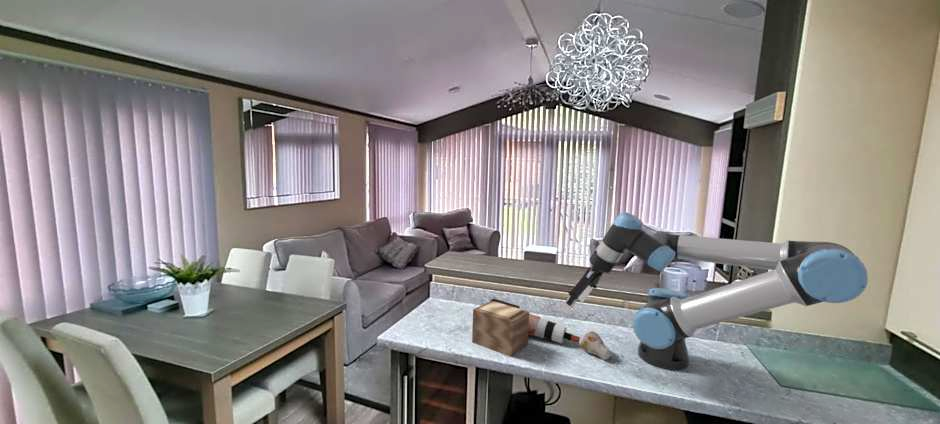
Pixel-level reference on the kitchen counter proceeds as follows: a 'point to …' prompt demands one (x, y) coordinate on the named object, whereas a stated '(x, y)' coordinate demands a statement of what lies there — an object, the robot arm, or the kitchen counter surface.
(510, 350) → the plate
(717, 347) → the kitchen counter surface
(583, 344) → the mug
